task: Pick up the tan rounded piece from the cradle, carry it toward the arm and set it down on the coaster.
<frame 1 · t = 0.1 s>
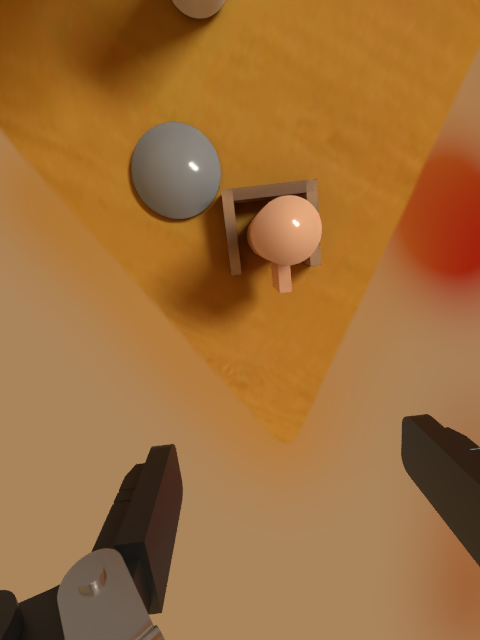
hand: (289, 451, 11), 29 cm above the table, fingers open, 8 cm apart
cradle: (269, 235, 37), on the table
tan rounded piece: (269, 235, 37), on the table
coaster: (176, 173, 35), on the table
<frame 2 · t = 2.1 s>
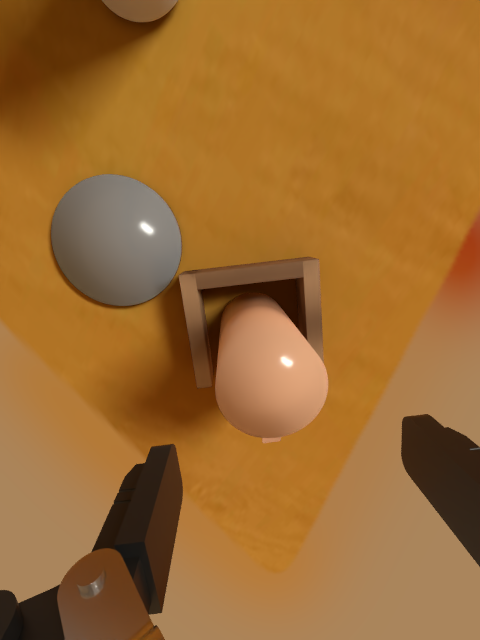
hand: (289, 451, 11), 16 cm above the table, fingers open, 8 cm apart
cradle: (252, 323, 27), on the table
tan rounded piece: (252, 323, 27), on the table
coaster: (119, 243, 24), on the table
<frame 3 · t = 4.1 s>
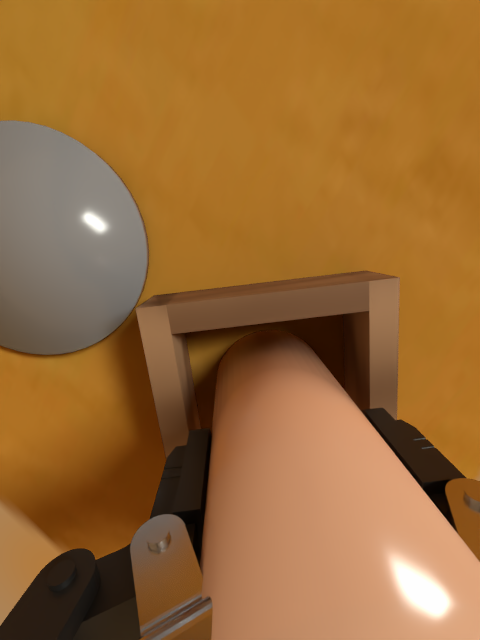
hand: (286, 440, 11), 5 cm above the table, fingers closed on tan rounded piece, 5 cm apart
cradle: (269, 380, 16), on the table
tan rounded piece: (269, 380, 16), on the table, touching gripper
coaster: (39, 248, 14), on the table
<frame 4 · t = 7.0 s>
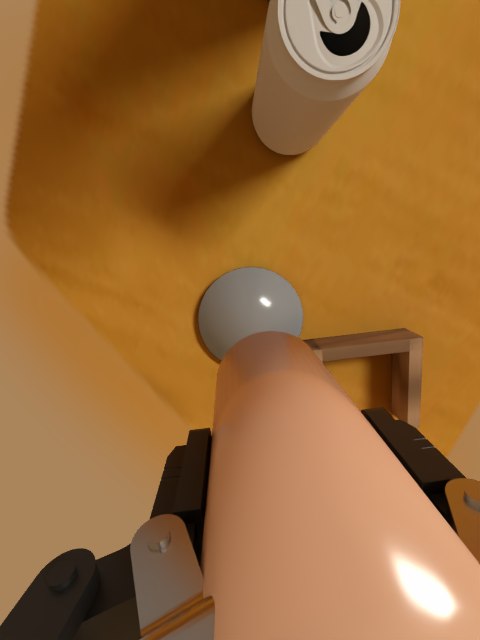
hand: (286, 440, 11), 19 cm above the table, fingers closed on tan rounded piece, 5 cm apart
cradle: (353, 381, 32), on the table
tan rounded piece: (269, 381, 16), point 14 cm above the table, touching gripper
coaster: (250, 318, 29), on the table
beverage can: (288, 116, 25), on the table
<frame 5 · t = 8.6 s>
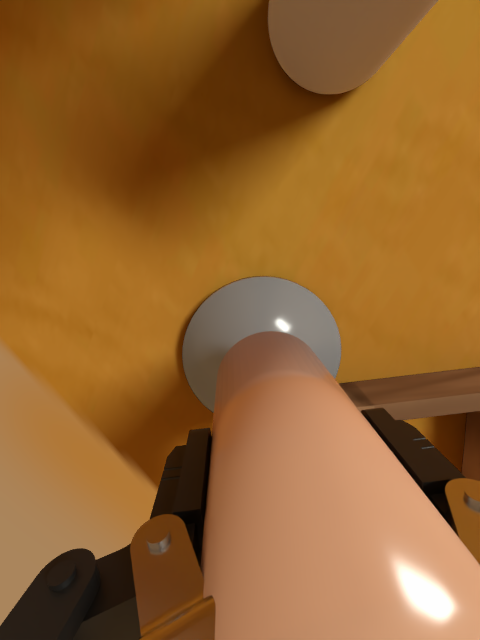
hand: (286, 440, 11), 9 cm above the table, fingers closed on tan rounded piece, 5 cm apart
cradle: (410, 441, 22), on the table
tan rounded piece: (269, 381, 16), point 4 cm above the table, touching gripper
coaster: (261, 353, 20), on the table
beverage can: (326, 31, 16), on the table
when the fingers open (6 cm above the table, at t = 10.0 s): tan rounded piece stays where it is, resting on coaster.
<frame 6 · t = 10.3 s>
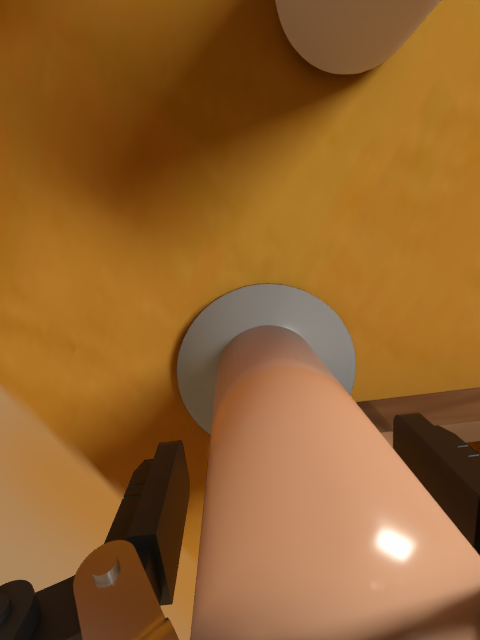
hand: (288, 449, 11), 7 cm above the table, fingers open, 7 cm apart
cradle: (431, 465, 20), on the table
tan rounded piece: (267, 373, 17), point 1 cm above the table, touching coaster
coaster: (265, 369, 17), on the table
beverage can: (341, 2, 14), on the table
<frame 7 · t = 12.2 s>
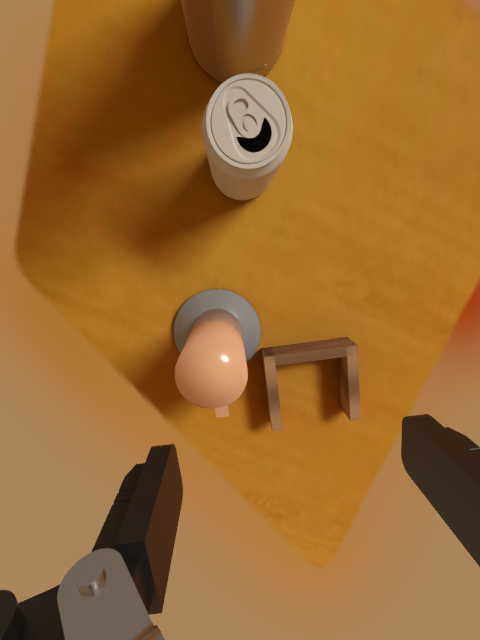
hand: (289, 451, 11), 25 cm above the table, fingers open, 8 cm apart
cradle: (307, 382, 37), on the table
tan rounded piece: (217, 332, 35), point 1 cm above the table, touching coaster
coaster: (217, 331, 35), on the table
beverage can: (241, 169, 32), on the table
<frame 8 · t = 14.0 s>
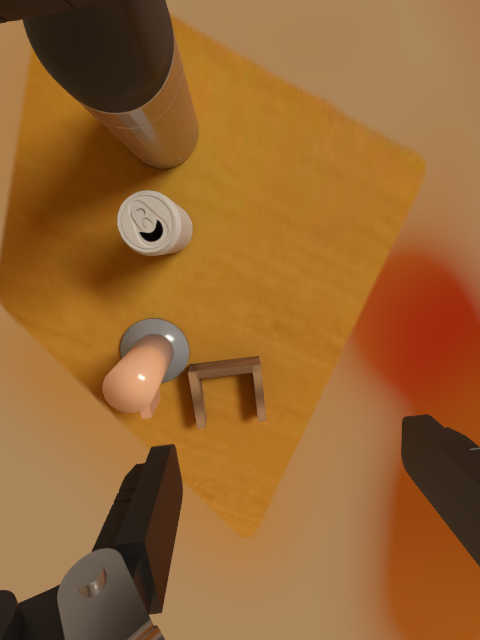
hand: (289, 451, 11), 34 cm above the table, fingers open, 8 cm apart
cradle: (228, 391, 47), on the table
tan rounded piece: (154, 351, 45), point 1 cm above the table, touching coaster
coaster: (155, 350, 45), on the table
beverage can: (169, 228, 41), on the table
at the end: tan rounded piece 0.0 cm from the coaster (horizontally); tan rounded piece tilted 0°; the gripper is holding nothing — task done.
